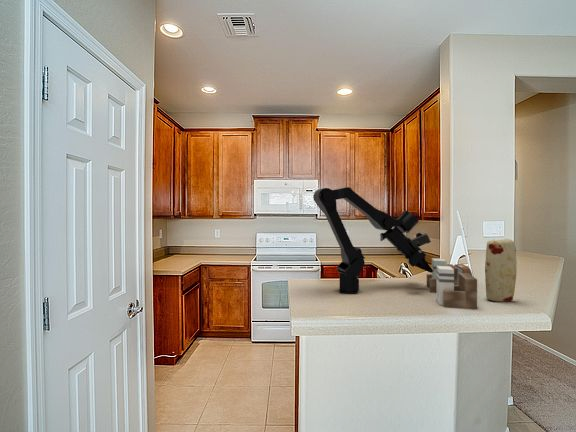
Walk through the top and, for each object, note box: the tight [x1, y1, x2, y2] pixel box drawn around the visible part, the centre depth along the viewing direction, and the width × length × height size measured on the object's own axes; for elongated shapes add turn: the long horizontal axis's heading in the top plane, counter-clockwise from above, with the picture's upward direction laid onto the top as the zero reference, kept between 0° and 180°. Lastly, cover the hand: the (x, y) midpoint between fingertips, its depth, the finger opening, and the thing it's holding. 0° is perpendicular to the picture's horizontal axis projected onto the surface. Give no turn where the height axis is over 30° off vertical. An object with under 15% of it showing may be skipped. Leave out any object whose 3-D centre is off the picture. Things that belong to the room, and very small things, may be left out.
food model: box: [484, 238, 518, 303], centre depth 106 cm, size 10×7×20 cm
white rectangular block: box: [436, 266, 454, 306], centre depth 103 cm, size 4×6×11 cm
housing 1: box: [426, 263, 458, 294], centre depth 120 cm, size 9×10×9 cm
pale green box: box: [431, 257, 448, 279], centre depth 120 cm, size 4×6×11 cm
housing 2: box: [442, 273, 478, 310], centre depth 102 cm, size 9×10×9 cm
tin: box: [453, 263, 473, 276], centre depth 125 cm, size 15×3×8 cm, turn 168°
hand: (432, 271), depth 121 cm, fingers closed, pressing on pale green box
